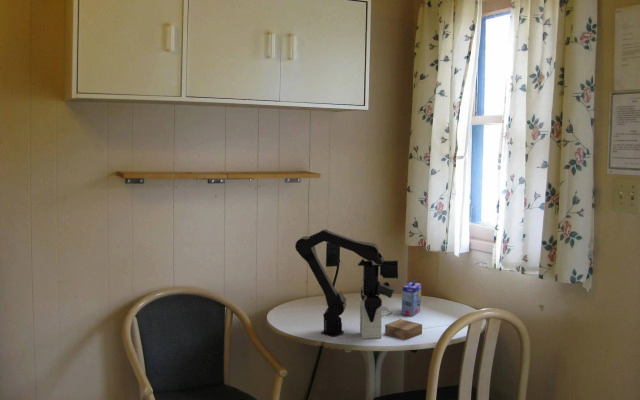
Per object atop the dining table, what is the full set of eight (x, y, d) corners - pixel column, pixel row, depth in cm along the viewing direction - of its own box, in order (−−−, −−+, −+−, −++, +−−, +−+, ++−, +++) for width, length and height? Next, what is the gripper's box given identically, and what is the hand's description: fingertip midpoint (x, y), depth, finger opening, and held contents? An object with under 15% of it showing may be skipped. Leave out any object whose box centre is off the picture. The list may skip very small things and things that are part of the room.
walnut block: (385, 335, 235) (385, 324, 235) (400, 329, 242) (400, 319, 242) (407, 340, 228) (407, 330, 228) (422, 334, 236) (422, 324, 235)
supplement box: (379, 332, 237) (379, 299, 236) (381, 338, 230) (381, 305, 229) (359, 332, 237) (359, 300, 236) (361, 338, 230) (361, 305, 228)
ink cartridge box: (413, 317, 257) (414, 282, 256) (401, 315, 260) (401, 281, 258) (421, 311, 266) (422, 277, 265) (409, 309, 269) (409, 276, 267)
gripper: (396, 283, 222) (395, 325, 224) (388, 271, 241) (388, 311, 242) (364, 283, 222) (364, 325, 224) (360, 272, 241) (359, 311, 242)
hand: (370, 318), depth 233 cm, fingers open, 9 cm apart
